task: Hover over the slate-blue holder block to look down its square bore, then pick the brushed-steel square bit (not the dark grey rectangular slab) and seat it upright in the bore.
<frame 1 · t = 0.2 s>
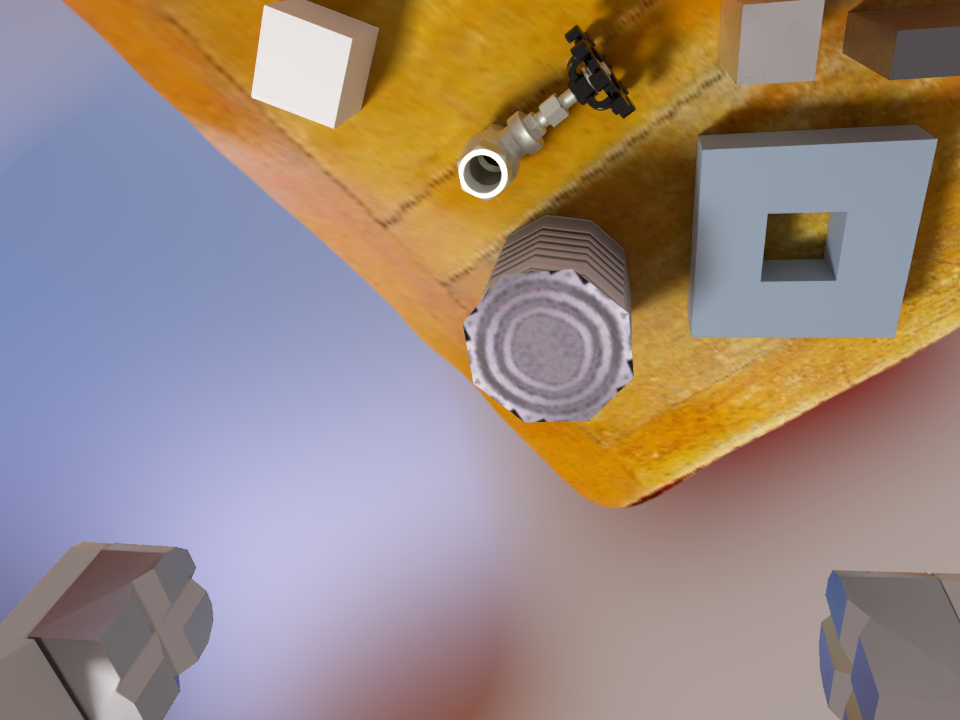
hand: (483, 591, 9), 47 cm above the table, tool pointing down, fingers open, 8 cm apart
valve: (539, 114, 52), on the table
can: (561, 279, 59), on the table
dark grey rectangular slab: (900, 28, 46), on the table
bore block: (791, 227, 53), on the table
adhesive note: (332, 55, 53), on the table
square bit: (752, 22, 47), on the table
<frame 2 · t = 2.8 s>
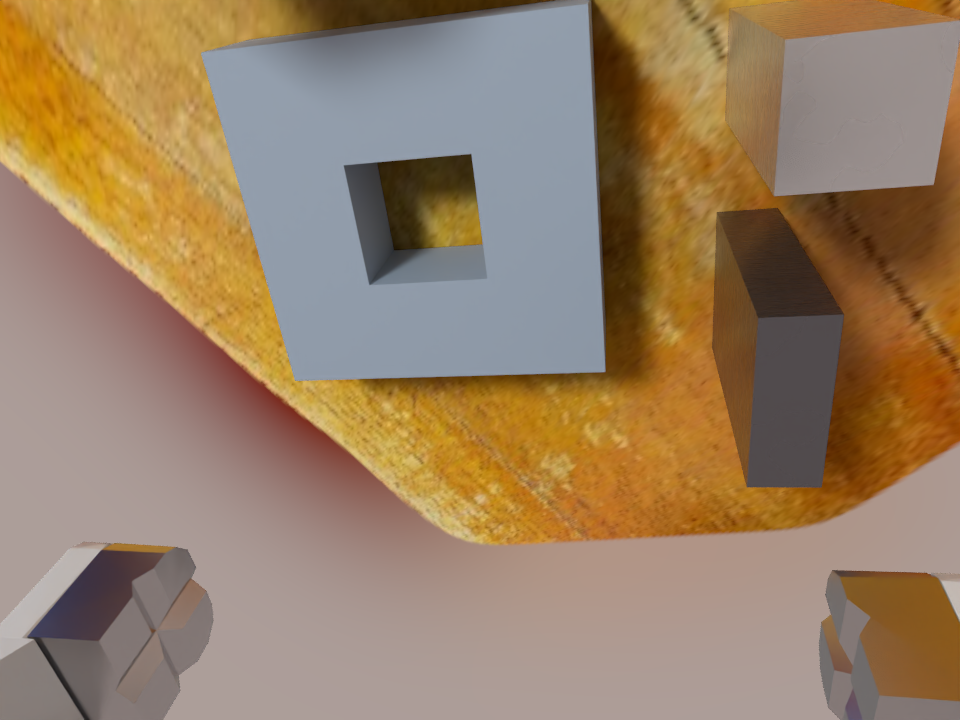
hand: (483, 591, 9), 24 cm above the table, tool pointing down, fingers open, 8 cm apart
dark grey rectangular slab: (743, 282, 32), on the table
bore block: (438, 193, 32), on the table
square bit: (783, 60, 27), on the table
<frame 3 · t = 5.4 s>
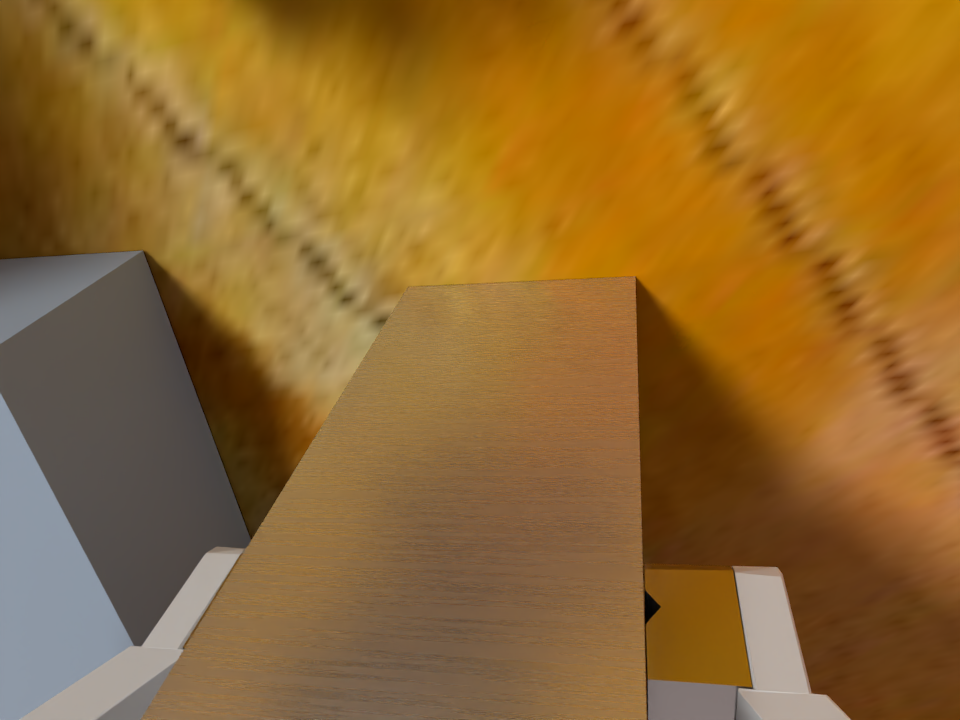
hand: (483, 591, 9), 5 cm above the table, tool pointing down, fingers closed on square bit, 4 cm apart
square bit: (528, 380, 14), on the table, touching gripper
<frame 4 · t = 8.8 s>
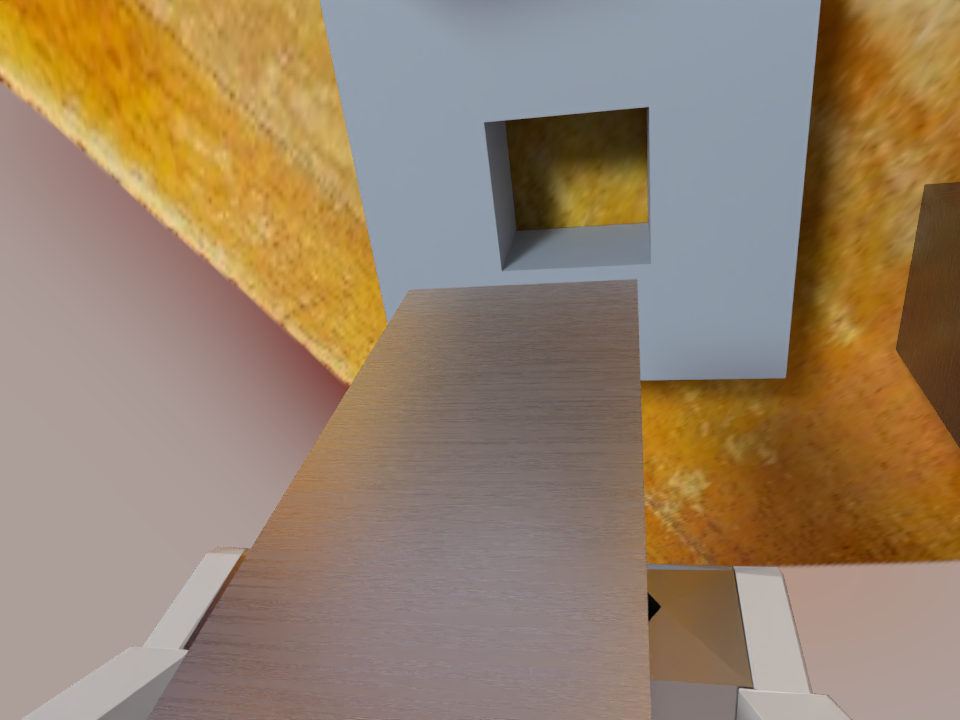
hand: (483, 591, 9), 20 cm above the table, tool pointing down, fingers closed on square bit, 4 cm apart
dark grey rectangular slab: (945, 270, 26), on the table
bore block: (577, 161, 27), on the table
square bit: (529, 382, 14), point 15 cm above the table, touching gripper
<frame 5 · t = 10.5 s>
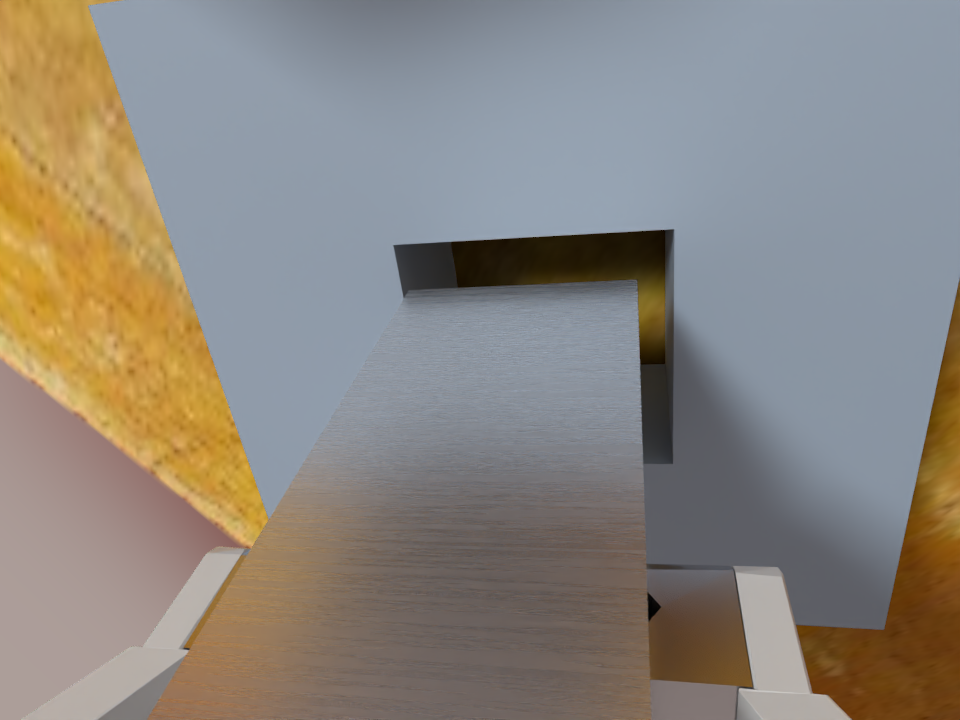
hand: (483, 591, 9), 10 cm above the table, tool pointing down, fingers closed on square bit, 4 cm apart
bore block: (557, 276, 17), on the table
square bit: (529, 383, 14), point 5 cm above the table, touching gripper
when the fingers open (7 cm above the table, at t = 12.0 s): square bit drops 1 cm, resting in bore block.
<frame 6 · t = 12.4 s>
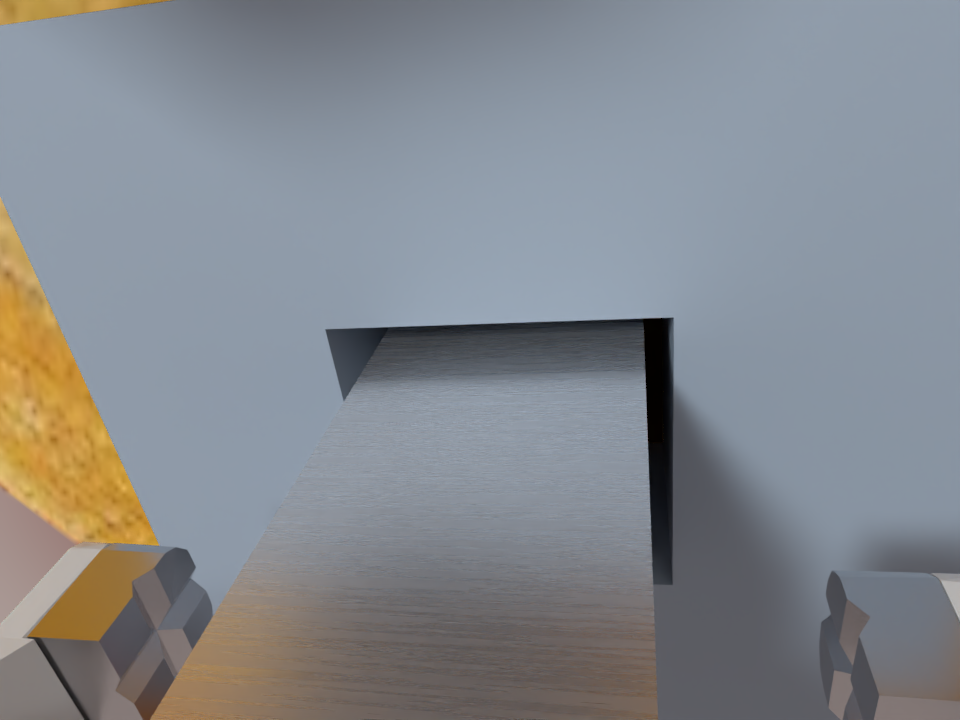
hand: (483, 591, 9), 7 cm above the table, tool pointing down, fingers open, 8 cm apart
bore block: (536, 343, 15), on the table
square bit: (543, 341, 15), resting in bore block
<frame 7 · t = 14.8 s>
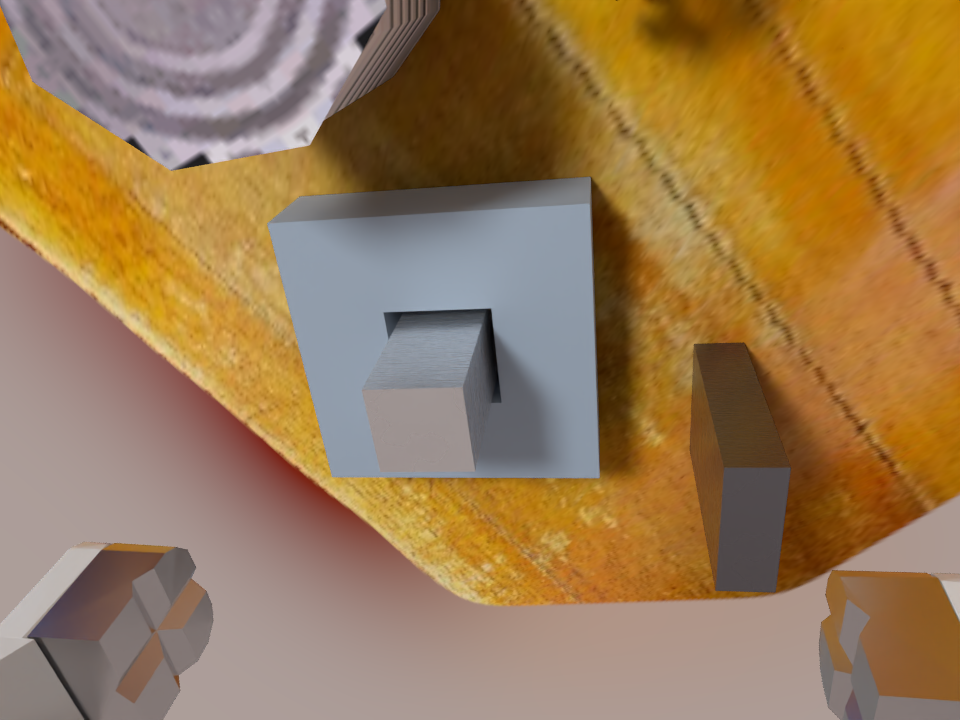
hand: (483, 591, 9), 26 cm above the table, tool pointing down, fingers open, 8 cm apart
dark grey rectangular slab: (715, 398, 37), on the table
bore block: (458, 320, 37), on the table
square bit: (460, 320, 37), resting in bore block
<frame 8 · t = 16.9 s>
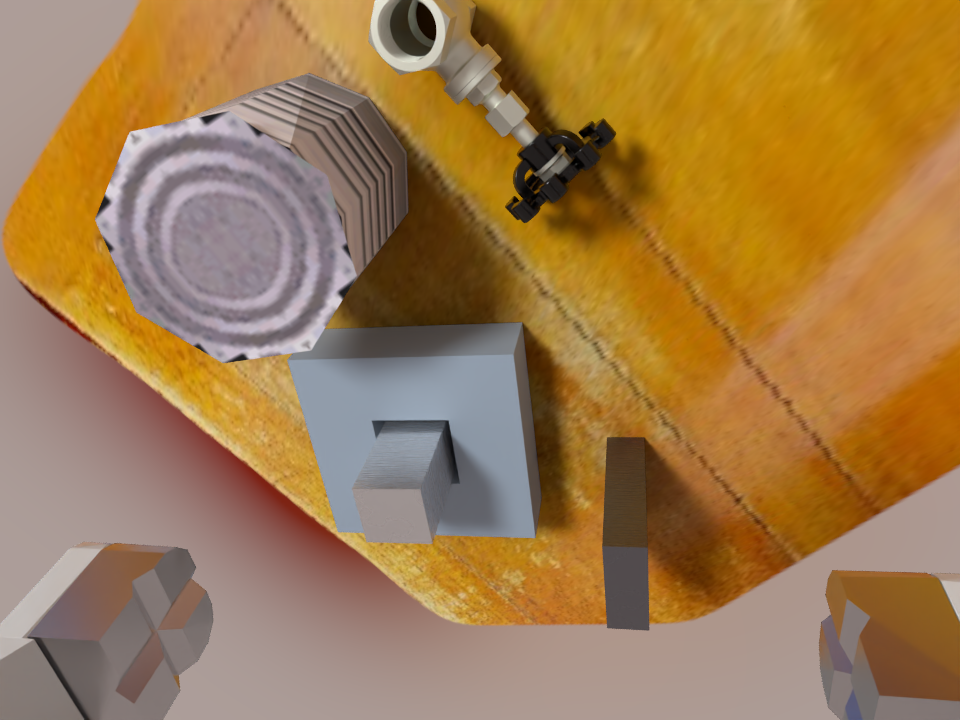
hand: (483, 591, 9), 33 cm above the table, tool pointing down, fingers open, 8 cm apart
valve: (494, 74, 38), on the table
can: (319, 174, 42), on the table
dark grey rectangular slab: (627, 476, 49), on the table
bore block: (431, 417, 50), on the table
square bit: (433, 416, 50), resting in bore block
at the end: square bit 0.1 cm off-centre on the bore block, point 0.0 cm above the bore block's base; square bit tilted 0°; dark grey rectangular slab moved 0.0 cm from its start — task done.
